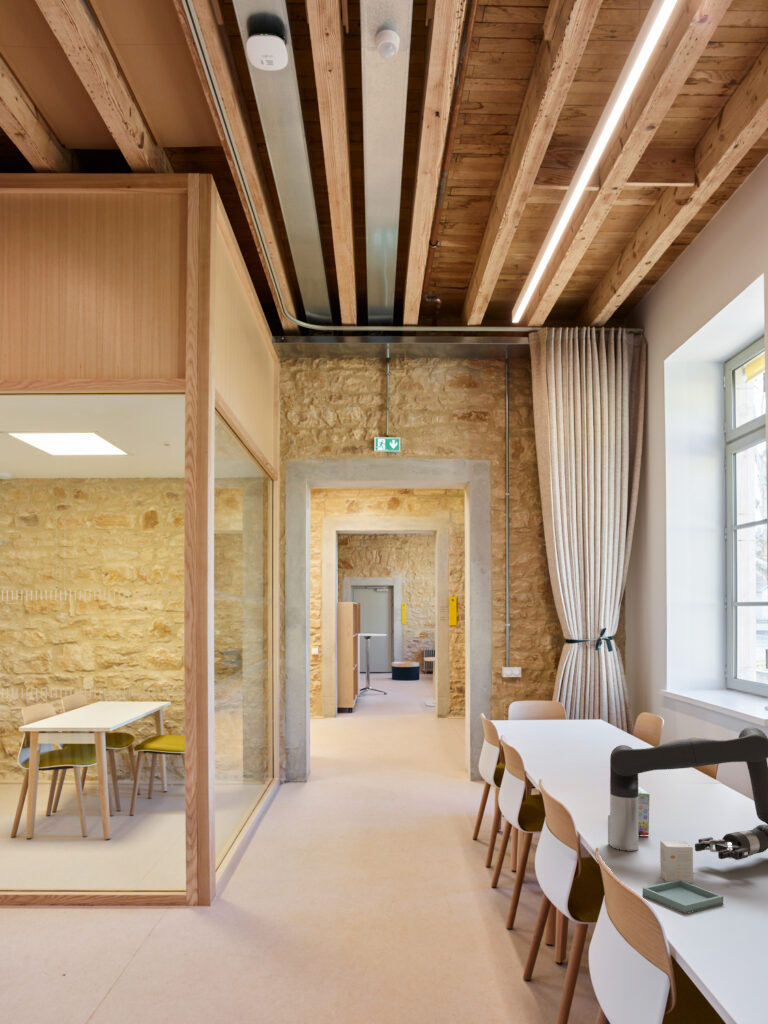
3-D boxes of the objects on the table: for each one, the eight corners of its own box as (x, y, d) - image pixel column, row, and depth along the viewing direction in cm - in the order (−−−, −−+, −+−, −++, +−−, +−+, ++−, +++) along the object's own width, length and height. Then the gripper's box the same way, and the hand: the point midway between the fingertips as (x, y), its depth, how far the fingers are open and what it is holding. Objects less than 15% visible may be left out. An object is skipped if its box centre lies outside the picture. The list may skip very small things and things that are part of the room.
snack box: (650, 837, 284) (650, 793, 286) (634, 836, 284) (634, 792, 286) (632, 820, 305) (632, 780, 307) (618, 820, 305) (618, 779, 307)
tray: (642, 895, 227) (642, 887, 227) (680, 887, 235) (679, 879, 235) (685, 913, 214) (685, 905, 214) (723, 904, 222) (723, 896, 222)
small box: (685, 877, 244) (685, 841, 245) (693, 883, 238) (693, 846, 239) (659, 876, 243) (659, 840, 244) (667, 883, 238) (666, 846, 239)
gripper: (721, 826, 262) (688, 832, 254) (760, 838, 250) (727, 845, 242) (721, 850, 261) (688, 857, 253) (761, 863, 249) (727, 871, 241)
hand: (707, 851), depth 247 cm, fingers open, 8 cm apart
